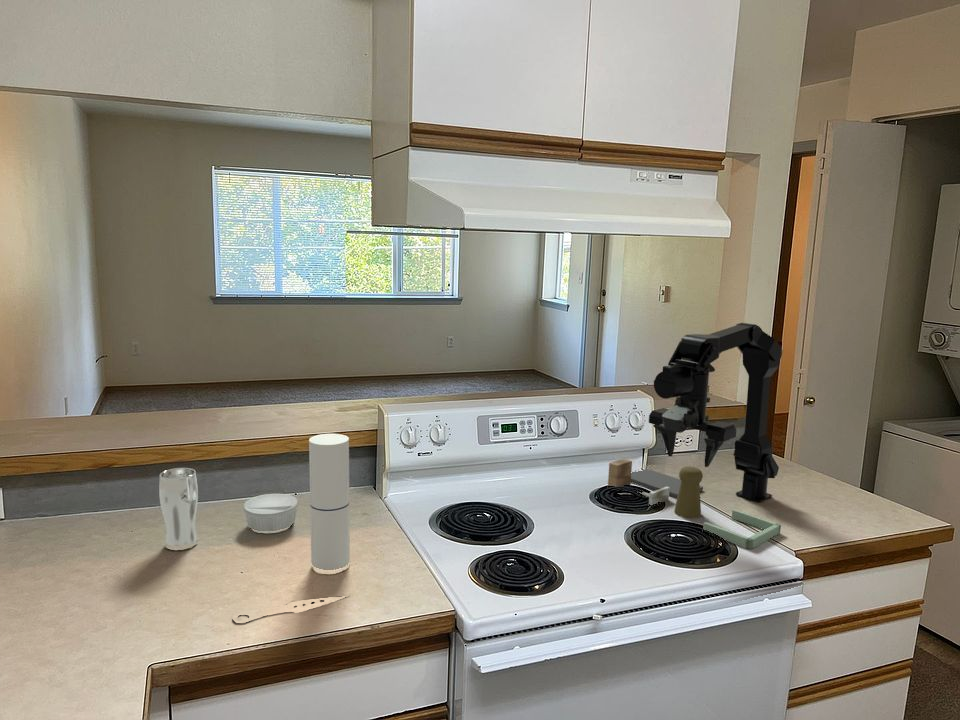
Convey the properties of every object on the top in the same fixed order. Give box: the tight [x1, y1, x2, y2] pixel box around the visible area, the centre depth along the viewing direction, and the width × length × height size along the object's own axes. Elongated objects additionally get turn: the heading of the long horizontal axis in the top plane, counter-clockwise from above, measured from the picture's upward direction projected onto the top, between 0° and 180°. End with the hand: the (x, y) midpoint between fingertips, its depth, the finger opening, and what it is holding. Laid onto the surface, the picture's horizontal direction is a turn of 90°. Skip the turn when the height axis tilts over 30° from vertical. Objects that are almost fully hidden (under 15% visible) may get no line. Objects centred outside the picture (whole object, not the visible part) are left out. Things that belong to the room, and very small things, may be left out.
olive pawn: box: [673, 466, 704, 519], centre depth 162 cm, size 6×6×11 cm
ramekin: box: [243, 493, 299, 531], centre depth 149 cm, size 11×11×5 cm
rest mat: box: [631, 467, 704, 499], centre depth 181 cm, size 10×18×1 cm, turn 41°
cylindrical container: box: [308, 433, 351, 570], centre depth 130 cm, size 7×7×25 cm
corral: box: [702, 508, 782, 550], centre depth 153 cm, size 13×11×2 cm
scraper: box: [607, 458, 670, 505], centre depth 173 cm, size 7×14×7 cm, turn 41°
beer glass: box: [158, 467, 199, 546], centre depth 138 cm, size 7×7×15 cm
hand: (688, 461), depth 156 cm, fingers open, 9 cm apart
